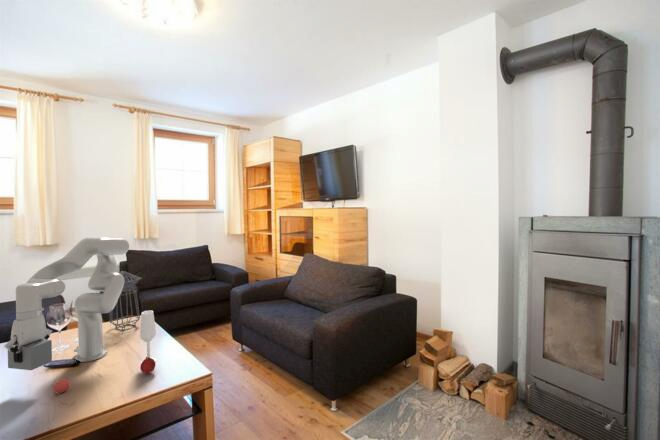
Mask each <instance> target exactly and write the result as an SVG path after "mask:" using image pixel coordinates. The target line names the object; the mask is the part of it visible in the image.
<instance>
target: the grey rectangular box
mask: <svg viewBox="0 0 660 440" xmlns="http://www.w3.org/2000/svg"><path fill="white" fill-rule="evenodd" d="M14 346H15V345H12V347H13V348H14ZM52 346H53V345H52V340H51V339H47V340H37V341H35V342H32V343H29V344H26V345H24V346H23V347H22V350H21V352H22V362H21V363H16V362H14V355H13V353H12V352H10V351H8V350H7V368H8V369H16V370H24V371H33V370H35V369H37V368H40V367H42V366H44V365H45V366H46V364H50V363H51V362H53V348H52ZM18 347H19V346H18ZM18 347H17V349H18Z"/></svg>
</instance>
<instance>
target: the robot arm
mask: <svg viewBox="0 0 660 440" xmlns="http://www.w3.org/2000/svg"><path fill="white" fill-rule="evenodd" d="M129 249H130V243H129V240H127V239H125V238H120V237H119V238H113V237H112V238H111V237H110V238H109V237H85V238H82V239H81V240H80V241H79V242H78V243H76V245H74V246H73V248H71V250H69V251H68V252H67V253H66V254H64V256H63V257H62V258H59V259H57V260H56V261H54V262H51V263H50V264H48V265H45V266H44V267H42V268H40V269H39V270H38V271H37V272H36V273H34V274H33V275H32V276H31V277H30V278H29V279H28V280H27V281H26V283H21V284H19V285H17V286H16V288H15V315H16V316H15V319H14V320H13V322H12V324H11V325H12V326H11V332H10V333H11V334H10V340H8V342H7V343H6V344H5V345H4V348H5V349H6V350H7V352H8V351H10V352H12V353H13V355H14V362H16V363H21V362H22V352H21V350H22V347H23V346H24V345H26V344H29V343H32V342H35V341H37V340H49V338H50V335H51V334H52V333H53V330H52V329H50V328H47V326H46V324H47V323H46V319H45V316H44V314H43V312H44V311H45V308H44V307H42V305H43V303H42V301H43V299H49V298H50V299H51V298H55V297H58V296H60V295H62V294H63V293H64V291H65V289H66V284H65V282H64V281H63V280H60V279H57V278H58V277H61V276H64V275H67V274H71V273H74V272H77V271H79V270H81V269H82V268H83V267H84V266H85V265H86V264H87V263H88V262H89V260H90V259H92V257H93V256H96V258H97V262H96V263H97V264H96V265H95V267H94V270H93V272H92V274H91V276H90V278H89V280H88V283H87V287H88V289H89V290H90V291H93V292H85V293H82V294H79V296H77V297H76V299H75V300H74V309H75V314H76V317H77V318H76V319H77V330H78V331H77V332H78V333H77V335H78V336H77V337H78V346H76V347H75V349H73V352H74V353H77V355H76V356H75V358H74V360H75V359H77V360H80V362H79V363H87V362H88V363H89V362H93V361H96V360H98V359H101V358H103V357H104V356H106V355H107V353H108V350H107V349H106V348H104V338H103V335H104V334H103V317H102V315H101V314H108V313H110V311H111V312H112V310H113V311H114V309H115V308H116V306H117V305H116V303H117V301H118V300H119V299H120V298H119V296H120V295H122V292H123V291H122V290H123V289H124V288H123V286H125V284H124V279H125V278H124V277H125V276H124V277H123V275H121V274H119V272H115V270H116V269H117V260H116V258H115V256H119V255H124V254H126V253H128V251H129ZM121 291H122V292H121ZM120 297H121V296H120ZM12 345H15V346H14V348H13V347H12ZM18 346H19V347H18ZM17 347H18V349H17Z"/></svg>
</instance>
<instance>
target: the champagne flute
mask: <svg viewBox="0 0 660 440" xmlns="http://www.w3.org/2000/svg"><path fill="white" fill-rule="evenodd" d="M139 331H140V332H139V338H140V339H141V340H142V341H143V342H145V343H146V357H150V358H152V359H153V360H154V361H155V363H156V362H157V360H158V359H157V358H155V357H151V351H150V350H151V346H150V345H151V344H150V343H151V341H152V340H153V339H154V338H155V337H156V335H157V331H156V322H155V314H154V310H144V311H142V312H141V315H140V330H139ZM144 360H145V359H144ZM144 360H142V361H141V362H140V364H141V363H142V362H143V361H144Z"/></svg>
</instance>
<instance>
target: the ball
mask: <svg viewBox="0 0 660 440" xmlns="http://www.w3.org/2000/svg"><path fill="white" fill-rule="evenodd" d="M70 385H71V383H70V381H69V379H65V378H62V379H59V380H58V381H56V382H55V383H54V385H53V387H52V388H53V391H54V393H56V394H62V393H65V392H66V391H67V390H68V389H69V388H70Z"/></svg>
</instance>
